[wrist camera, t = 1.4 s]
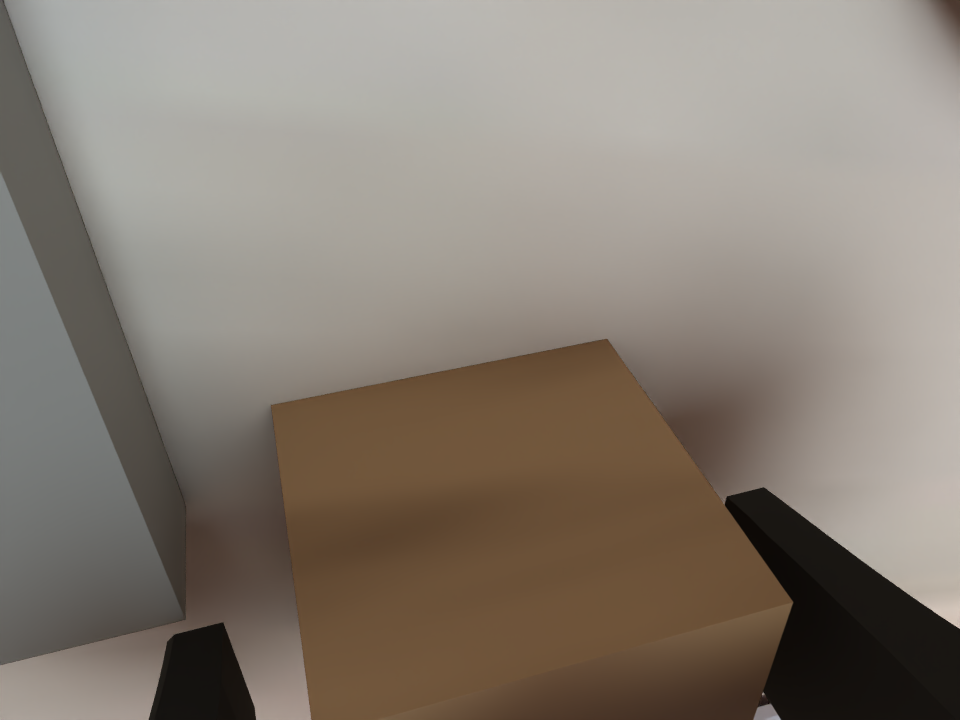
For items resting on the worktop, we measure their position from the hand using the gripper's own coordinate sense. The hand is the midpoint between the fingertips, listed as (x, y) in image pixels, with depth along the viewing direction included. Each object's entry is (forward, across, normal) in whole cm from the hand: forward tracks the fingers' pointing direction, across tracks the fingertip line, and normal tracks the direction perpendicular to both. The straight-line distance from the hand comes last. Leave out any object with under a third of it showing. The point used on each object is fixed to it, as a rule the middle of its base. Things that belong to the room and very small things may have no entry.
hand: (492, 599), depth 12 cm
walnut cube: (+2, 0, 0) cm, 2 cm away
